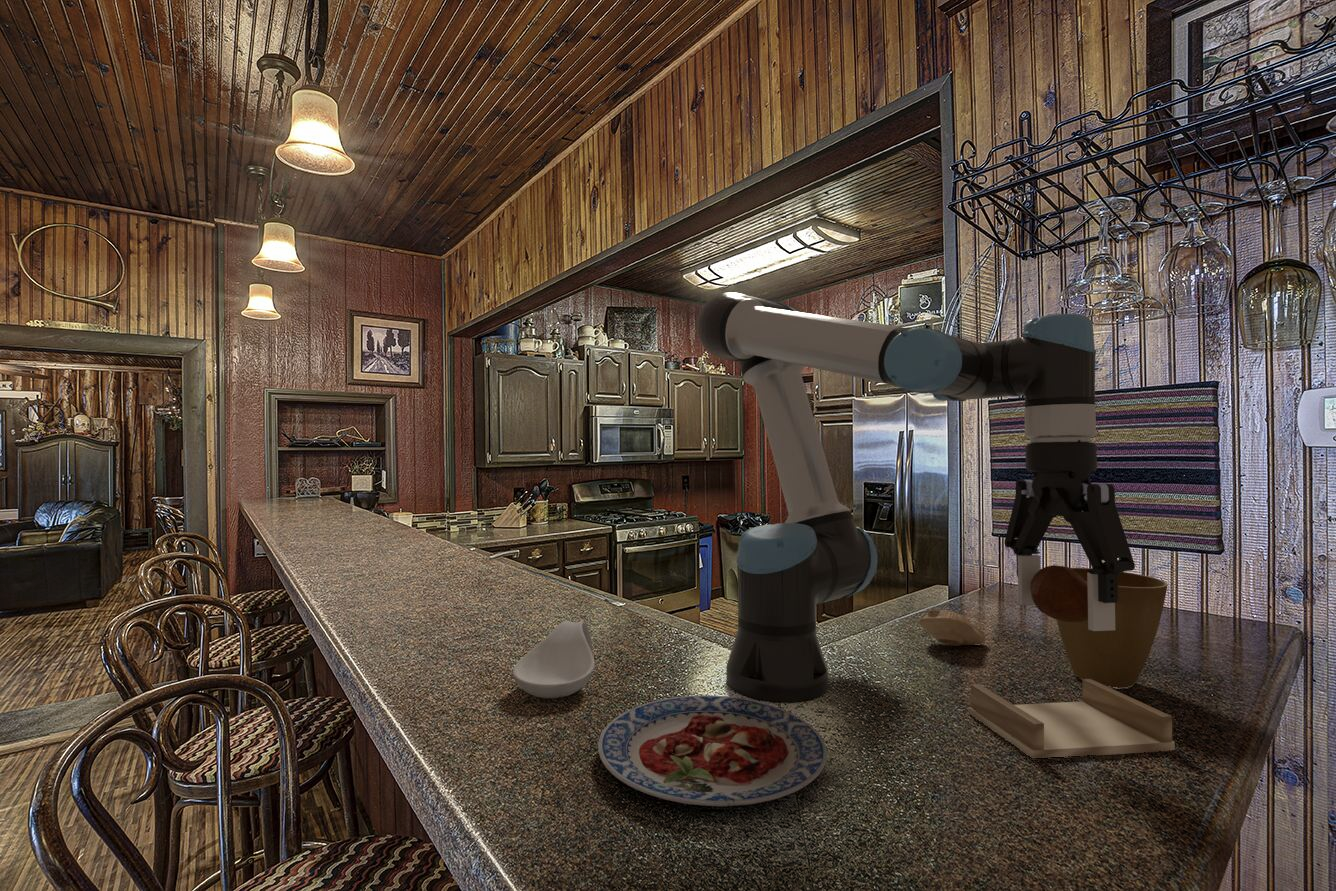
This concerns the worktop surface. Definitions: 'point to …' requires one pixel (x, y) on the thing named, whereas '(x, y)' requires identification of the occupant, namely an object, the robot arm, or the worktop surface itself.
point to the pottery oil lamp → (951, 628)
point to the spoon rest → (557, 662)
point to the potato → (1060, 593)
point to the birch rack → (1076, 723)
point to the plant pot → (1117, 633)
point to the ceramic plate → (712, 750)
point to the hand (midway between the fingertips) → (1062, 616)
